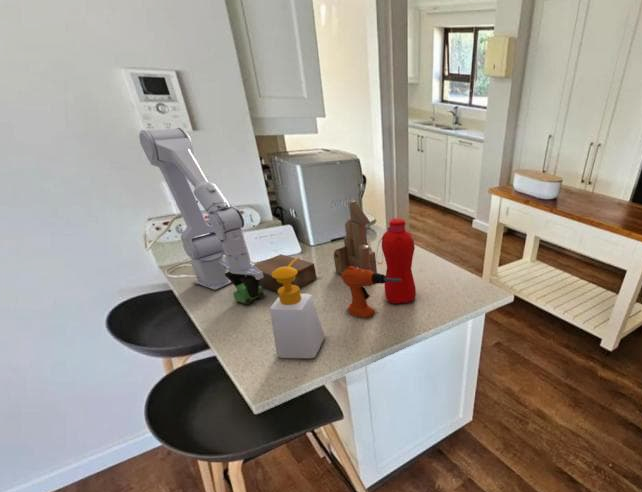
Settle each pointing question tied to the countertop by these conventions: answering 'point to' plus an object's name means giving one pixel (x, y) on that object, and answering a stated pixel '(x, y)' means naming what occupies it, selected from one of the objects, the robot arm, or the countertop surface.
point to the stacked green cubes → (246, 294)
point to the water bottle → (398, 262)
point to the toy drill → (362, 289)
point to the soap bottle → (294, 318)
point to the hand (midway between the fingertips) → (249, 294)
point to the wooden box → (299, 281)
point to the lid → (282, 264)
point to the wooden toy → (355, 244)
